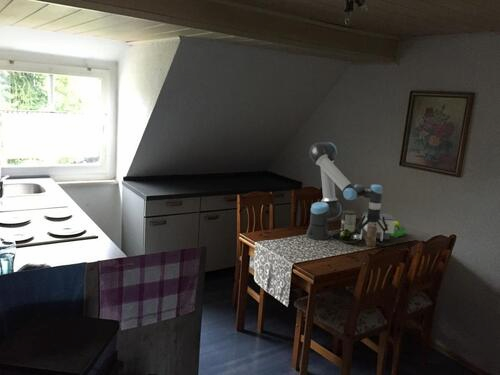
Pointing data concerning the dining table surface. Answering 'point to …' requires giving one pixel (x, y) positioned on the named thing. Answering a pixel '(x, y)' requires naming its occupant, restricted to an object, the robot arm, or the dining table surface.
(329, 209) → the robot arm
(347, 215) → the clear glass jar
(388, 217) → the cabinet
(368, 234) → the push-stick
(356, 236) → the steel puck
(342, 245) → the dining table surface
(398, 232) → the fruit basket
